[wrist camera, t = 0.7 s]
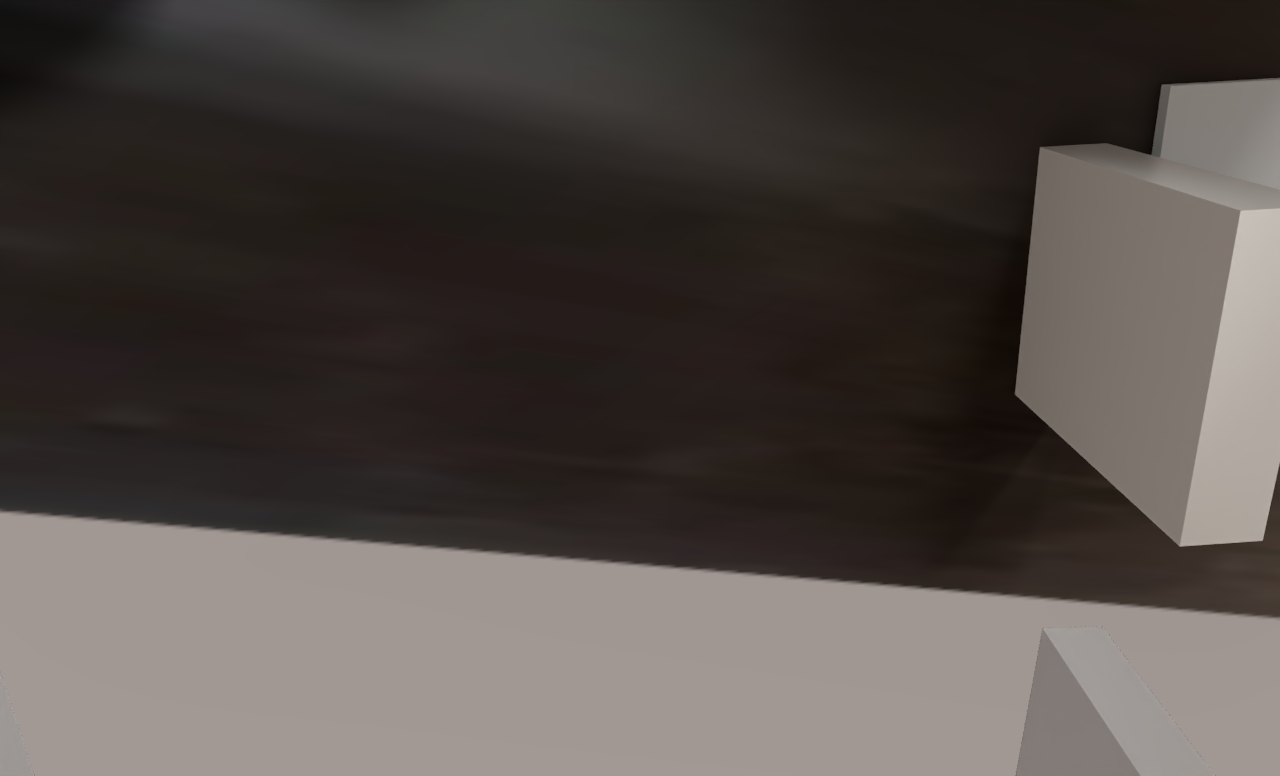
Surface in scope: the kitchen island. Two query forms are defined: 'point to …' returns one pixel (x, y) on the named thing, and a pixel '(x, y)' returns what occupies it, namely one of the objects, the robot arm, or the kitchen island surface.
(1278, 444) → the tile
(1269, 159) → the mat
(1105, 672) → the robot arm
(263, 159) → the kitchen island surface
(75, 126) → the kitchen island surface
